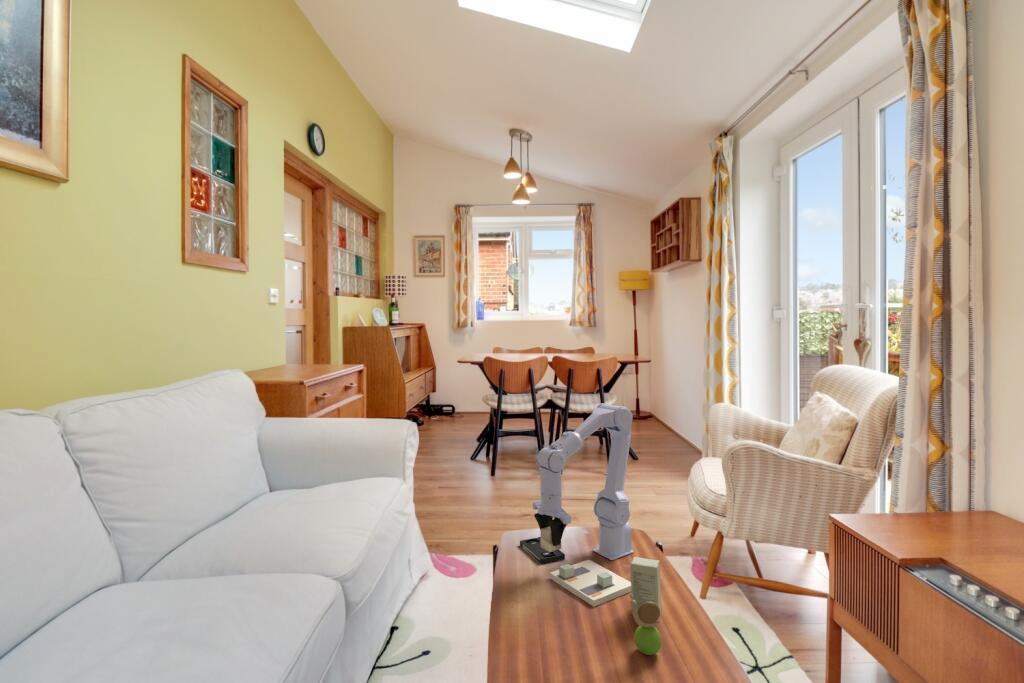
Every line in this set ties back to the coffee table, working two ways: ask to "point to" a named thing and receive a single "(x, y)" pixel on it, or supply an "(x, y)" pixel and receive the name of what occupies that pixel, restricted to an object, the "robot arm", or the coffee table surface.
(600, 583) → the tab
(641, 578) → the skincare box
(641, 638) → the snail figurine
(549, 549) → the block
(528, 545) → the vhs tape
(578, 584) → the white base plate
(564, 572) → the tab
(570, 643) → the coffee table surface
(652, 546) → the coffee table surface
